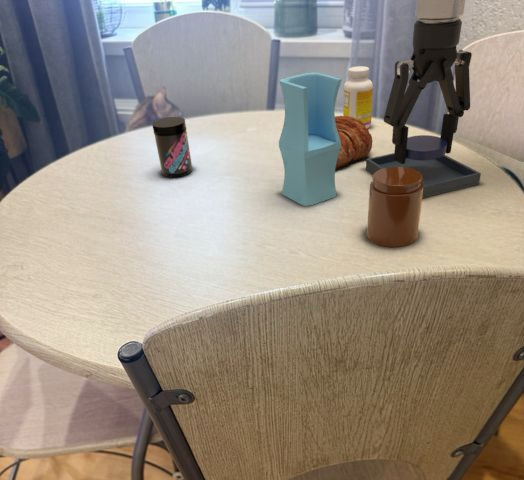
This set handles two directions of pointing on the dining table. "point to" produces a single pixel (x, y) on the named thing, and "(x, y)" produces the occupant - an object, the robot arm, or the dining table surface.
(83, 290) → the dining table surface
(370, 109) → the supplement bottle
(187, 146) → the supplement container
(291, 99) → the blue toy chair
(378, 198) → the jar
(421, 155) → the lid
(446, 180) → the tray
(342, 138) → the pastry
